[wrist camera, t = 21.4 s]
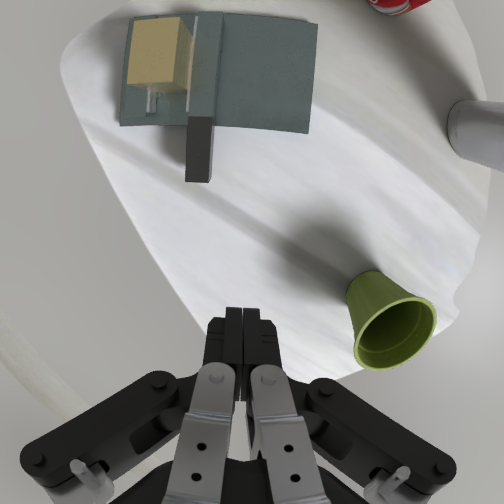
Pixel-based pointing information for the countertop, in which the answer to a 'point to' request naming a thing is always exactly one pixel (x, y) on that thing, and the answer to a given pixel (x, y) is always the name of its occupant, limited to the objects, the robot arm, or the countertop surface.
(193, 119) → the sliding jaw
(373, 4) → the soda can
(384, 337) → the plant pot
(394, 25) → the countertop surface
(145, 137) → the countertop surface
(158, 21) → the brass block
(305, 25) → the vise
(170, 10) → the countertop surface
